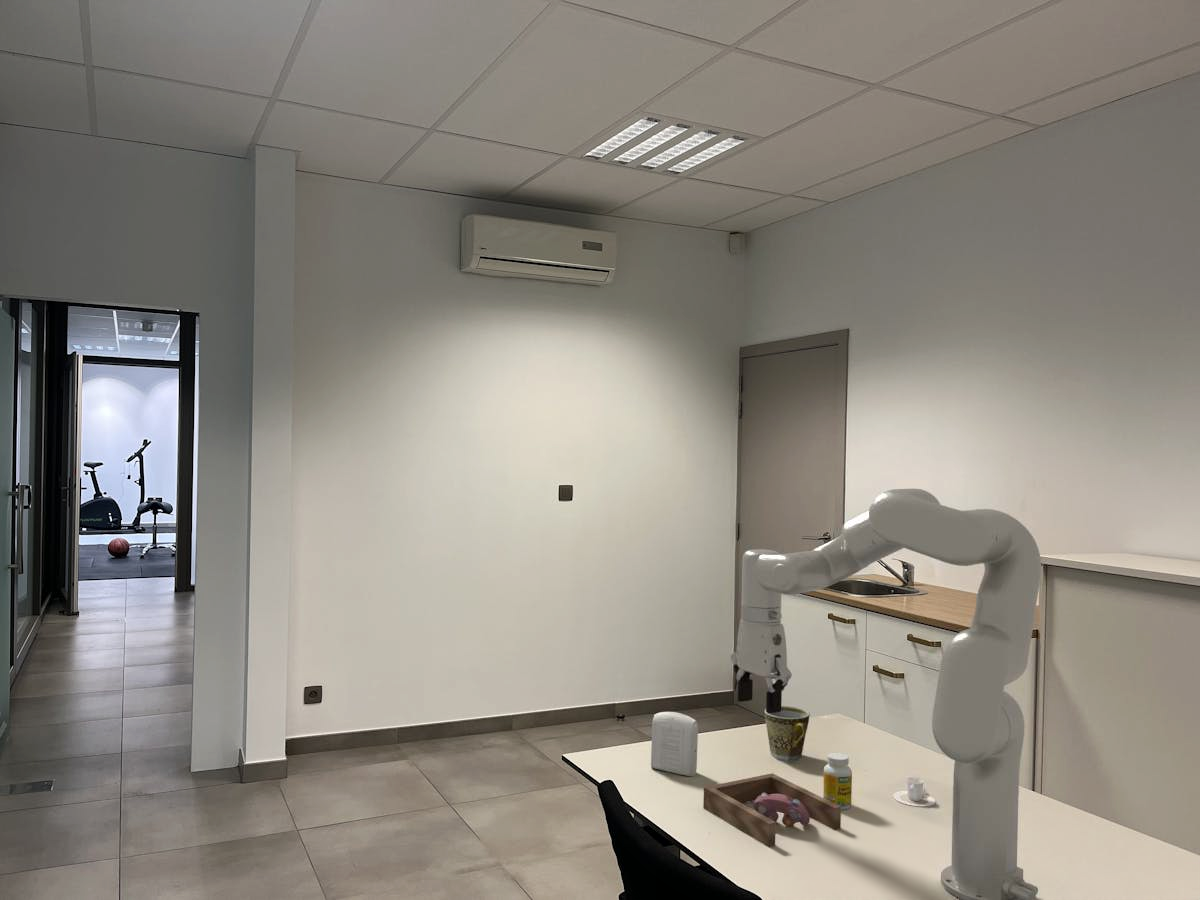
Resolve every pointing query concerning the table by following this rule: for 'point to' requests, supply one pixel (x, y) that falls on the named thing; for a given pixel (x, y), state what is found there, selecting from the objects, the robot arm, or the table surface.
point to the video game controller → (782, 809)
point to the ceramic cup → (787, 732)
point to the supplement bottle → (838, 780)
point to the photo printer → (674, 743)
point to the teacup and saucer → (914, 793)
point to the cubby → (730, 808)
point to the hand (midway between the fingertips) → (759, 705)
